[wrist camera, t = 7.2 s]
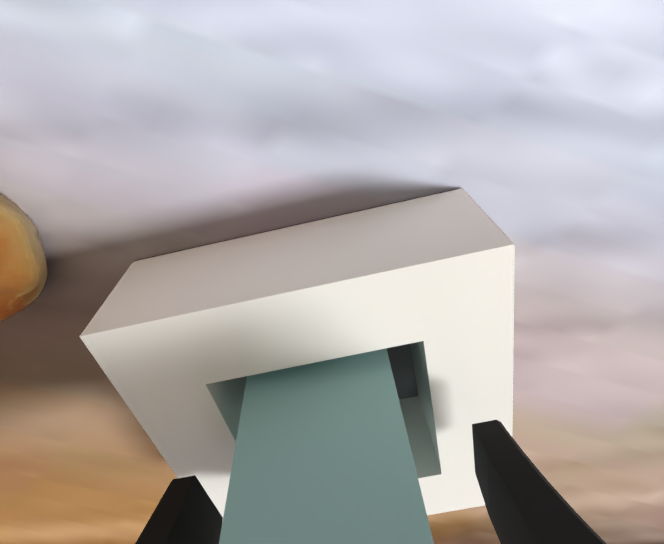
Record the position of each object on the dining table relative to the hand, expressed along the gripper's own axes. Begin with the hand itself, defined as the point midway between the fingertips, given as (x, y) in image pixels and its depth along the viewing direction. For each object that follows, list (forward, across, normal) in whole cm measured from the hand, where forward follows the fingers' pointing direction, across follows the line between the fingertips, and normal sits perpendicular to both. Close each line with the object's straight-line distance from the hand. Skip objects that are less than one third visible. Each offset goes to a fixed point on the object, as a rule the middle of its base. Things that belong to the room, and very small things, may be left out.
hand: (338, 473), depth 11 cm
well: (+5, 0, 0) cm, 5 cm away
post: (+4, 0, 0) cm, 4 cm away
